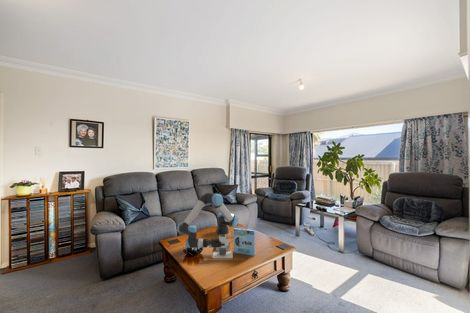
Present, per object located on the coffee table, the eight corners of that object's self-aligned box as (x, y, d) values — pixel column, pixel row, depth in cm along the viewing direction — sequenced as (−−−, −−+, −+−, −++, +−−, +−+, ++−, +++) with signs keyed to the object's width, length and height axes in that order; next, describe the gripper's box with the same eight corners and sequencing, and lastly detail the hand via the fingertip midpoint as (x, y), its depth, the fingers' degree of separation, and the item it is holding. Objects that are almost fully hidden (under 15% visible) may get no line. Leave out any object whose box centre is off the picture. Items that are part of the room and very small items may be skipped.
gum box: (255, 253, 192) (255, 229, 191) (254, 256, 187) (254, 231, 187) (235, 250, 197) (235, 227, 197) (233, 253, 193) (233, 228, 192)
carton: (217, 246, 207) (217, 232, 207) (230, 246, 207) (230, 231, 207) (216, 251, 195) (216, 236, 195) (230, 251, 195) (230, 236, 195)
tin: (219, 251, 191) (219, 234, 191) (226, 251, 191) (226, 234, 191) (219, 254, 186) (219, 236, 186) (225, 254, 186) (226, 236, 186)
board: (213, 252, 194) (213, 251, 194) (232, 252, 194) (232, 251, 194) (212, 258, 182) (212, 258, 182) (232, 258, 182) (232, 257, 182)
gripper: (204, 242, 197) (228, 242, 197) (201, 251, 179) (228, 251, 179) (204, 235, 197) (228, 235, 197) (201, 243, 179) (228, 243, 179)
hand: (228, 242), depth 188 cm, fingers closed on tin, 5 cm apart
